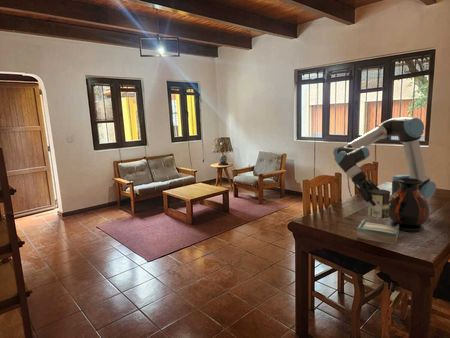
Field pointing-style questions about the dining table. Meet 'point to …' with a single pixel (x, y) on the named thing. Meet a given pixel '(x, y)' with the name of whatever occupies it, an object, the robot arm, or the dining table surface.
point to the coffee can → (383, 200)
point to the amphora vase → (409, 206)
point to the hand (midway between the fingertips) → (384, 208)
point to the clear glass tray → (378, 232)
